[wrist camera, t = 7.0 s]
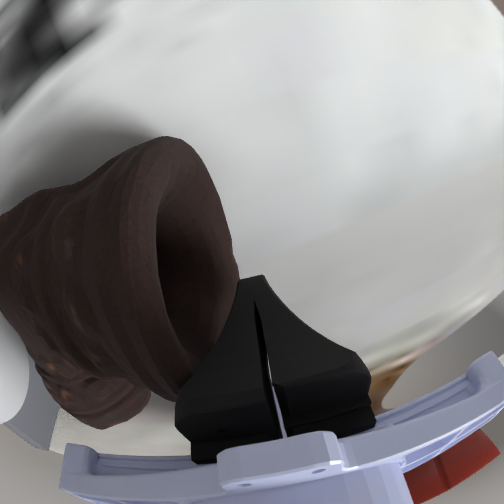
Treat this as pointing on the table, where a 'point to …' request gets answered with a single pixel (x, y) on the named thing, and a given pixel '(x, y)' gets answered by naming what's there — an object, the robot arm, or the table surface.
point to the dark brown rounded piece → (120, 280)
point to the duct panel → (24, 392)
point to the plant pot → (450, 467)
